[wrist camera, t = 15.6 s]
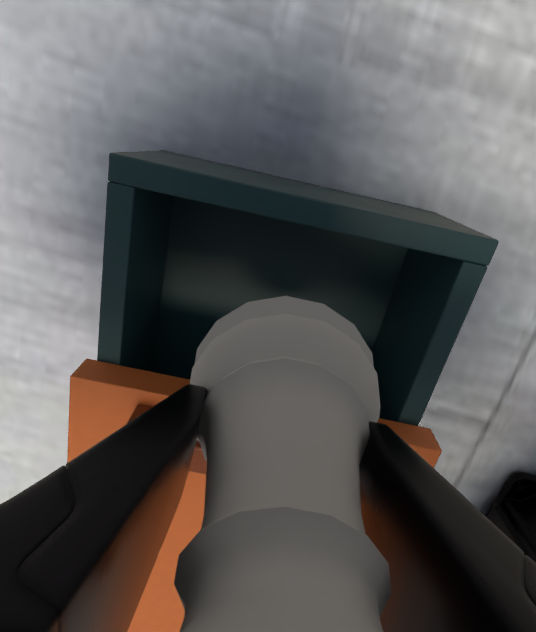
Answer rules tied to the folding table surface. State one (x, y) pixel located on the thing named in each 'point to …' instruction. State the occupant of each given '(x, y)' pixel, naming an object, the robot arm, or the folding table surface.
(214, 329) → the rook chess piece
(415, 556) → the robot arm
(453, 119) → the folding table surface
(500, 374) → the folding table surface
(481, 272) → the bin
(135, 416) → the bin lid
